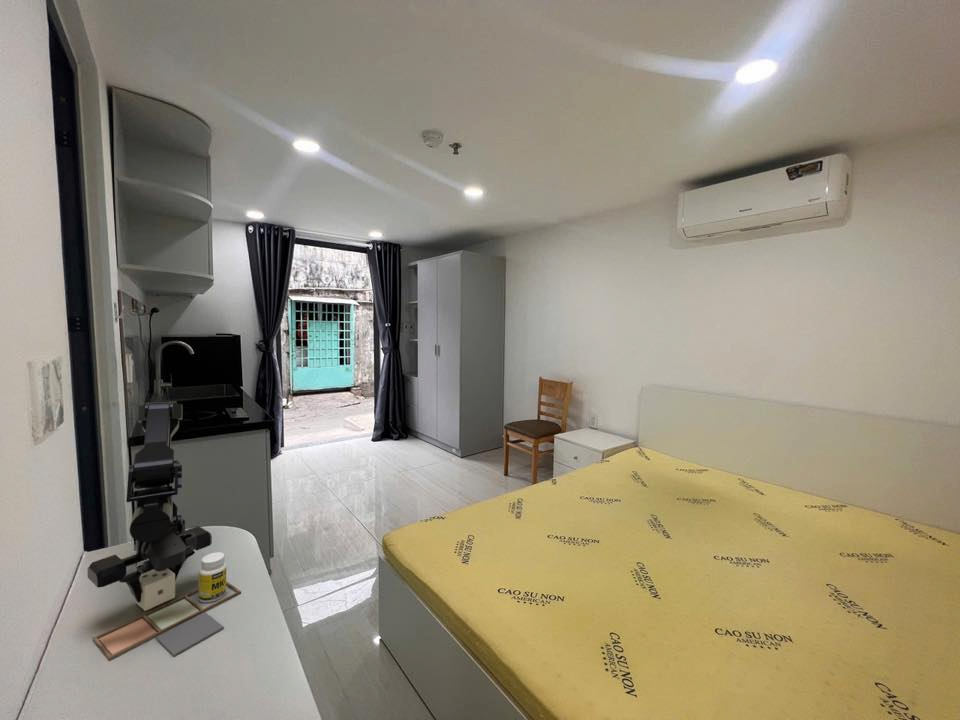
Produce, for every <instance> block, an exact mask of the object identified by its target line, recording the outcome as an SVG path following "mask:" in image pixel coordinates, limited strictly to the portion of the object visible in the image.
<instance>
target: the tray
mask: <svg viewBox="0 0 960 720" xmlns="http://www.w3.org/2000/svg"><path fill="white" fill-rule="evenodd" d="M226 587H227V588H229V589H230V590H232V591H233V592H234V593H232V594H230V595H228V596H226V597H224V598H221V599H219V600H217V602H216V601H215V602H213V603H212V604H211V605H209V606H206V607H205V608H203V607H202V606H200V605H199V604H198V603H197V602H196V601H194V600H193V599H192V598H191V596H193V595H195V594H199V588H198V589H195V590H193V591H191V592H189V593H187V594H184V595H181V596H180V597H178V598H175V599H174V600H172V601H169V602H167V603H165V604H163V605H160V606H159V607H156V608H154V609H152V610H150V611H148V612H146V613H144V614H141V615H139V616H136V617H135V618H133V619H130V620H128V621H126V622H124V623H122V624H119V625H118V626H115V627H113V628H111V629H108V630H107V631H104V632H103V633H99V634H98V635H95V636H94V637H92V642H93V643H94V644H95V645H96V646H97V648H98V649H99V650H100V651H101V653H103V655H104V656H105V658H107V660H108V662H110V661H112V660H114V659H116V658H118V657H120V656H122V655H124V654H126V653H127V652H130V651H131V650H133V649H135V648H137V647H140V646H141V645H144V644H145V643H147V642H149V641H151V640H154V639H156V637H157V636H159V635H161V634H163V633H165V632H167V631H169V630H171V629H173V628H175V627H177V626H179V625H181V624H183V623H184V622H186V621H188V620H190V619H192V618H194V617H196V616H198V615H200V614H202V613H204V612H206V613H207V611H210V610H211V609H213V608H216V607H218V606H219V605H221V604H223V603H225V602H227V601H229V600H232V599H233V598H235V597H237V596H239V595H241V594H242V591H241V590H240V589H238V588H237V587H235V586H234V585H233V584H231V583H230V582H228V581H227V580H226Z"/></svg>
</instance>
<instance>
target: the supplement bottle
mask: <svg viewBox="0 0 960 720" xmlns="http://www.w3.org/2000/svg"><path fill="white" fill-rule="evenodd" d="M225 560H226V559H225V554H224V552H219V551H217V552H212V553H211V552H210V553H208V554H206V555H205V556H203V557H202V559H201V567H200V568H199V571H198V589H199V592H198V600H199V602H201V603H214V602H216V601H219V600H221V599H222V597H224V596H225V594H226V592H227V586H226V581H227V564H226V562H225Z"/></svg>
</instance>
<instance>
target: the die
mask: <svg viewBox="0 0 960 720" xmlns="http://www.w3.org/2000/svg"><path fill="white" fill-rule="evenodd" d="M139 580H140V589H141V601H140V602H137V601H136V599H135V598H134V597H133V598H134V600H133V601H134V603H136V604H137V605H138V606H139V607H140V608H141V609H142V610H143V611H144V612H145V611H148V610H151V609H153V608H155V607H157V606H159V605H161V604H164V603H165V602H168V601H170V600H172V599H176V581H175V573H173V572H172V571H171V570H169V569H168V568H167V569H166V570H164V571H160V572H158V571H155V570H151V571H149V572H146V573H144V574H142V573H141V576H140V578H139Z"/></svg>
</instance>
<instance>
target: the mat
mask: <svg viewBox="0 0 960 720" xmlns="http://www.w3.org/2000/svg"><path fill="white" fill-rule="evenodd" d="M224 629H225V627H224V626H223V624H221V623H219V622H218V621H217V620H216V619H215V618H213V617H212V616H211V615H209V614H208V612H207V611H206V612H204V613H202V614H200V615H198V616H196V617H194V618H192V619H190V620H188V621H186V622H184V623H182V624H180V625H178V626H177V627H175V628H173V629H171V630H169V631H167V632H165V633H163V634H161V635H159V636H157V637H155V640H156V641H157V642H158V643H159V644H160V645H161V646H162V647H163V648H164V650H166V651H167V652H168V653H169V654H170V655H171V656H172V657H173V658H174V657H177V656H178V655H180V654H182V653H183V652H185V651H188V650H190V648H192V647H195V646H196V645H198V644H199V643H202V642H203V641H204V640H207V639H208V638H209V639H210V637H212V636H213V635H214V636H215V635H216V634H217V633H219V632H221V631H223V630H224Z"/></svg>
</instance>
